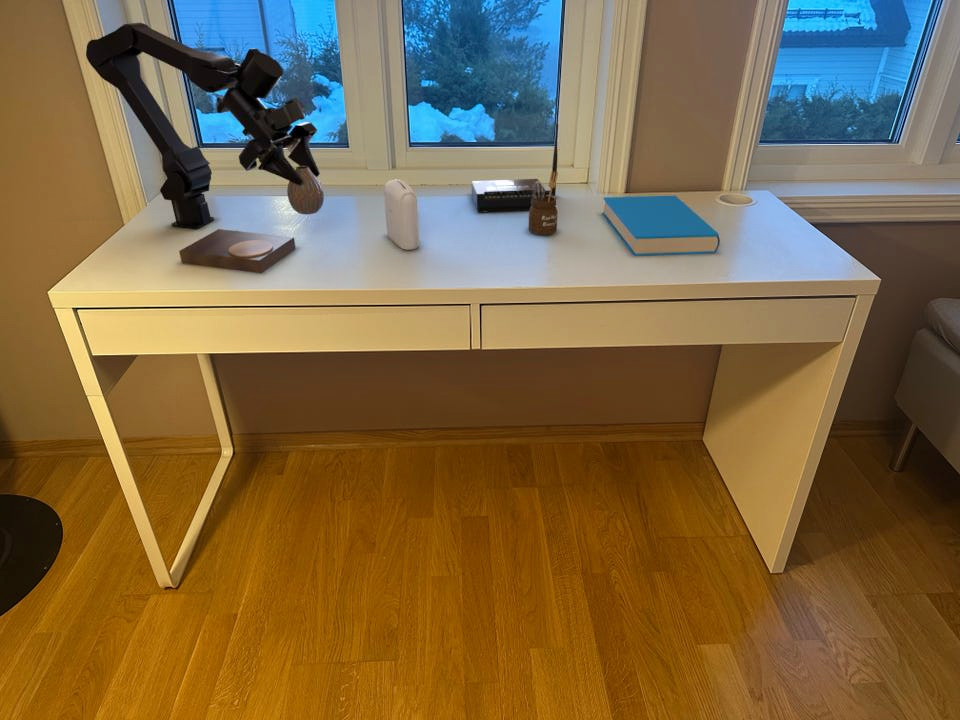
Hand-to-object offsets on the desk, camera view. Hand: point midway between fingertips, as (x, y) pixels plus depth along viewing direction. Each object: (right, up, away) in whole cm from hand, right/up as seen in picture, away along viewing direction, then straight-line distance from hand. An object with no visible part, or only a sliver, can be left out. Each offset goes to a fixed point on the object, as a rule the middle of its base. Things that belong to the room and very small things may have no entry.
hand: (309, 179), depth 131 cm
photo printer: (+17, -11, +6) cm, 22 cm away
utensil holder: (+46, -8, +12) cm, 48 cm away
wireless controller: (+41, +2, +29) cm, 51 cm away
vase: (-1, -6, +4) cm, 7 cm away
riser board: (-13, -15, 0) cm, 20 cm away
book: (+70, -8, +11) cm, 71 cm away
